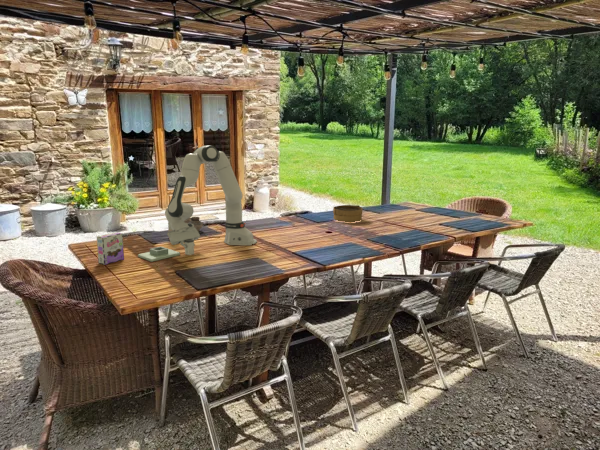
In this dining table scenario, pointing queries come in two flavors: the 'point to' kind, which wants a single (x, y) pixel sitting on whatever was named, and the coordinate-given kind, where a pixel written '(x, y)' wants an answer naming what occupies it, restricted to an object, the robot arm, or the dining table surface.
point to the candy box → (110, 248)
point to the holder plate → (158, 254)
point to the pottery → (195, 222)
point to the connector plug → (189, 247)
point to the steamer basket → (347, 213)
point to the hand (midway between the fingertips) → (190, 246)
